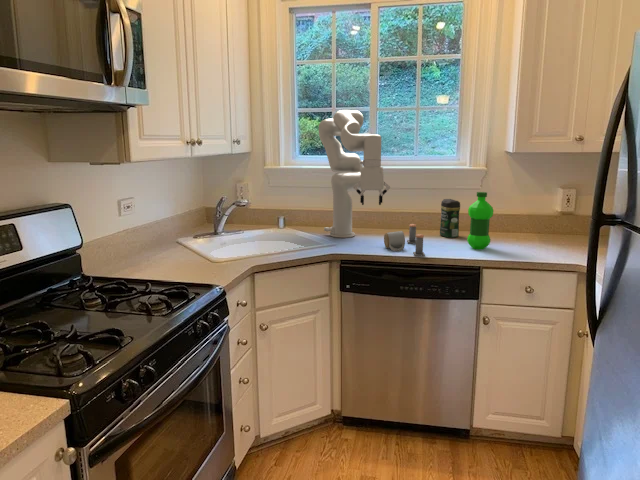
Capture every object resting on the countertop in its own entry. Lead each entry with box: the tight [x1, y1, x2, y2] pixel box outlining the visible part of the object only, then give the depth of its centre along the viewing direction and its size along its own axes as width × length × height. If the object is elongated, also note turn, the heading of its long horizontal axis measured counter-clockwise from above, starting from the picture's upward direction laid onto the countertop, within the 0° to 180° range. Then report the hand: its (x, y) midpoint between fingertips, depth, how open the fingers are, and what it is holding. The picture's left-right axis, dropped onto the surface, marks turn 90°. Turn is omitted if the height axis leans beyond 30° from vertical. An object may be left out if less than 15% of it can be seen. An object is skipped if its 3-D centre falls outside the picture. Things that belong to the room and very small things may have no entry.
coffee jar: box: [439, 198, 461, 239], centre depth 245 cm, size 10×8×19 cm
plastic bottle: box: [466, 191, 494, 251], centre depth 219 cm, size 10×10×25 cm
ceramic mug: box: [383, 230, 406, 252], centre depth 220 cm, size 11×8×8 cm
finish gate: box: [406, 223, 426, 257], centre depth 220 cm, size 4×28×9 cm, turn 176°
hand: (371, 204), depth 218 cm, fingers open, 6 cm apart
